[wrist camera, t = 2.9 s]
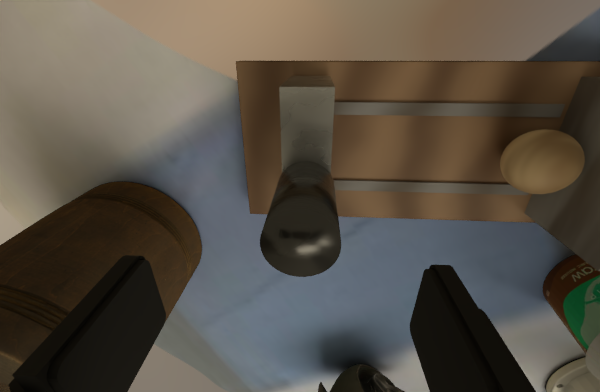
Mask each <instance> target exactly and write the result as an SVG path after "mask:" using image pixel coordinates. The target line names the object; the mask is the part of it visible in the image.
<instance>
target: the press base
mask: <svg viewBox="0 0 600 392" xmlns="http://www.w3.org/2000/svg"><path fill="white" fill-rule="evenodd" d="M236 69H237V79H238V90H239V101H240V111H241V122H242V133H243V143H244V154H245V164H246V175H247V186H248V196H249V207H250V214H268V212H269V209H270V206H271V202H272V199H273V196H274V193H275V190H276V187H277V184H278V181H279V178H280V175H281V174H282V157H281V125H280V94H279V87H280V86H281V85H282V84H283V83H284V82H285V81H287V80H288V79H289V78H290V77H291V76H330V77H331V79H332V81H333V83H334V86H335V99H334V118H333V137H332V156H331V176H332V178H333V180H334V185H335V194H336V203H337V212H338V216H344V217H376V218H408V219H440V220H471V221H503V222H535V223H537V224H539V225H540V226H541V227H543V228H544V229H545V230H546V231H548V232H549V233H550V234H551V235H553V236H554V237H555V238H556V239H558V240H559V241H560V242H562V243H563V244H564V245H565V246H567V247H568V248H569V249H570V250H572V251H573V252H574V253H576V254H577V255H578V256H579V257H581V258H582V259H583V260H584V261H586V262H587V263H588V264H590V265H591V266H592V267H593V268H595V269H596V270H597V271H600V61H236ZM541 129H549V130H557V131H561V132H564V133H566V134H568V135H570V136H571V137H573V138H574V139H575V140H577V142H578V143H579V144H580V145H581V147H582V149H583V151H584V156H585V163H584V167H583V170H582V172H581V174H580V175H579V177H578V178H577V179H576V180H575V181H574V182H573V183H571V184H570V185H569V186H567V187H565V188H563V189H561V190H559V191H556V192H552V193H547V194H531V193H526V192H523V191H520V190H518V189H516V188H514V187H513V186H512V185H510V184H509V183H508V182H507V181H506V180H505V178H504V177H503V175H502V172H501V168H500V160H501V156H502V154H503V152H504V150H505V148H506V147H507V146H508V145H509V143H511V142H512V141H513V140H514V139H515V138H517V137H519V136H520V135H522V134H525V133H527V132H530V131H534V130H541Z"/></svg>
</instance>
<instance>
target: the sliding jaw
mask: <svg viewBox="0 0 600 392" xmlns="http://www.w3.org/2000/svg"><path fill="white" fill-rule="evenodd" d="M279 94H280V125H281V157H282V174H281V175H280V178H279V181H278V184H277V187H276V190H275V193H274V196H273V199H272V202H271V206H270V209H269V212H268V215H267V218H266V221H265V224H264V227H263V231H262V234H261V238H260V247H261V251H262V253H263V255H264V257H265V259H266V260H267V261H268V263H269V264H270V265H272V266H273V267H274V268H275V269H277V270H279V271H280V272H283V273H285V274H288V275H292V276H299V277H306V276H313V275H316V274H320V273H322V272H324V271H325V270H327V269H329V268H330V267H331V266H332V265H333V264H334V263H335V262H336V260H337V258H338V257H339V254H340V250H341V239H340V230H339V221H338V212H337V203H336V194H335V185H334V180H333V178H332V176H331V156H332V137H333V118H334V99H335V86H334V83H333V81H332V79H331V77H330V76H291V77H290V78H289V79H288V80H287V81H285V82H284V83H283V84H282V85H281V86H280V87H279Z"/></svg>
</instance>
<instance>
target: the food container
mask: <svg viewBox="0 0 600 392" xmlns="http://www.w3.org/2000/svg"><path fill="white" fill-rule="evenodd" d="M543 294H544V297H545V299H546V300H547V301H548V303H549V304H550V306H551V307H552V308H553V310H554V311H555V312H556V314H557V315H558V316H559V318H560V319H561V321H562V322H563V323H564V325H565V326H566V327H567V329H568V330H569V331H570V333H571V334H572V335H573V337H574V338H575V340H576V341H577V342H578V344H579V345H580V346H581V348H582V349H583V350H584V352H585V353H586V358H585V360H586V366H587V368H588V370H589V371H590V372H591V373H592V374H593V375H594V376H595V377H596V378H597V379H598V380H600V271H597V270H596V269H595V268H593V267H592V266H591V265H590V264H588V263H587V262H586V261H584V260H583V259H582V258H581V257H579V256H578V255H577V254H575V255H572V256H570V257H568V258H566V259H565V260H563V261H562V262H560V263H559V264H558V265H556V266H555V267H554V268H553V269H552V270H551V271H550V272H549V274H548V275H547V277H546V279H545V281H544V284H543Z"/></svg>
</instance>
